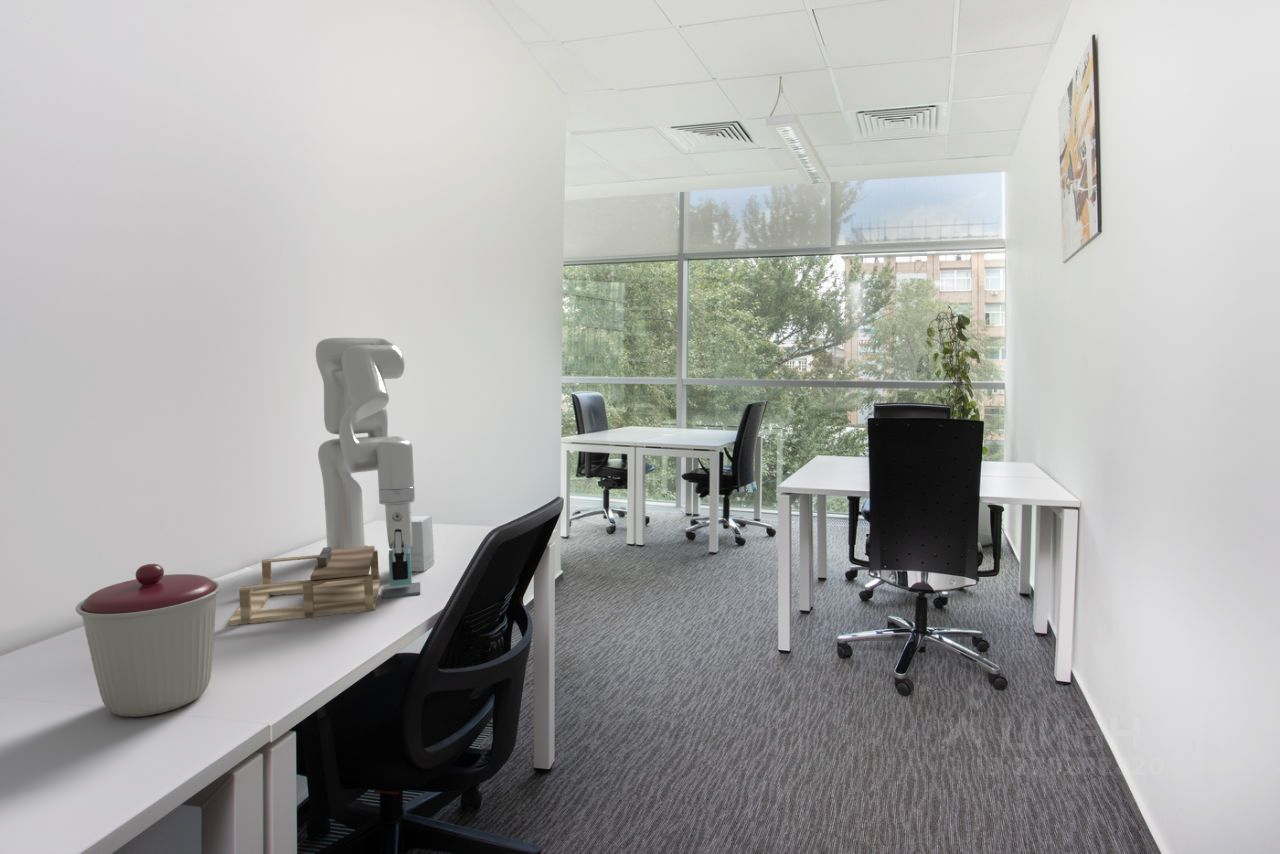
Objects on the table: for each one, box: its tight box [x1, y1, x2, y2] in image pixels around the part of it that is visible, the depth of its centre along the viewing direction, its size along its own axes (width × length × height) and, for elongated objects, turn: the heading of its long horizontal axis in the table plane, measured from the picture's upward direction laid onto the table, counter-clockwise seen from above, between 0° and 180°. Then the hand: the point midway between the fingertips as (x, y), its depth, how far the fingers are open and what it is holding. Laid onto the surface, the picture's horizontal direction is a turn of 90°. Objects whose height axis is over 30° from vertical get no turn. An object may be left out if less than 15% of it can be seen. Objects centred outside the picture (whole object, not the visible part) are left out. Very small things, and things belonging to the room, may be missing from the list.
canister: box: [75, 563, 222, 718], centre depth 112 cm, size 18×18×21 cm
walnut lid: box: [310, 545, 376, 580], centre depth 163 cm, size 24×11×3 cm, turn 17°
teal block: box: [388, 549, 413, 586], centre depth 167 cm, size 4×4×7 cm
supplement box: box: [406, 515, 435, 573], centre depth 186 cm, size 7×7×13 cm
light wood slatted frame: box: [228, 549, 381, 626], centre depth 161 cm, size 24×27×7 cm
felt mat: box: [381, 581, 421, 599], centre depth 167 cm, size 8×8×1 cm
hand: (400, 575), depth 167 cm, fingers closed on teal block, 4 cm apart
